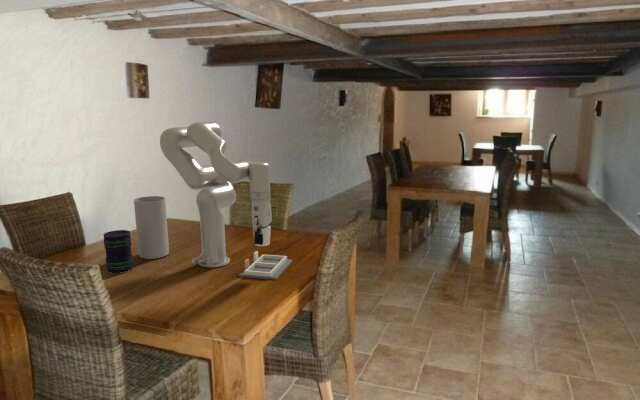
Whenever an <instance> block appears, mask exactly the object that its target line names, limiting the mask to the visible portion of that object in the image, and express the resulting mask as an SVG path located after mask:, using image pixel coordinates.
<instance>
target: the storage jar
mask: <svg viewBox="0 0 640 400" xmlns="http://www.w3.org/2000/svg"><path fill="white" fill-rule="evenodd" d="M102 237H103V245H104V246H103V247H104V250H105V256H106V257H105V265H106V272H107V271H108V272H111V273H120V272H125V271H128V270H131V269H132V268H133V269H134V266H133V265H134V258H133V254H132V247H131V246H132V238H131V230H130V231H129V230H126V229H119V230H118V229H117V230H111V231H107V232H105V233H103V236H102ZM133 269H132V270H133ZM132 270H131V271H132ZM108 272H107V273H108ZM111 273H110V274H111ZM120 274H121V273H120Z"/></svg>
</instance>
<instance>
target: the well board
mask: <svg viewBox="0 0 640 400" xmlns="http://www.w3.org/2000/svg"><path fill="white" fill-rule="evenodd" d="M243 262H244V265H243V266H244V269H243V270H242V271H241V272H240V273H238V277H242V278H249V279H250V278H251V279H263V280H264V279H265V280H275V281H276V280H278V279H279V278H280V276H281V275H282V274H283V273H284V272H285V271H286V269H288V268H289V267H290V265H291V264H292V263H293V259H289V258H288V256H287V255H276V254H261V255H260V256H259V251H258V250H257V251H256V250H255V251H254V252H253V261H252V262H251V263H250V258H246V259H245V260H243Z"/></svg>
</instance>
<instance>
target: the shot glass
mask: <svg viewBox="0 0 640 400" xmlns="http://www.w3.org/2000/svg"><path fill="white" fill-rule="evenodd" d="M257 226H261V225H259V224H258V225H257ZM271 227H272V226H271V225H270V224H269V225H267V226H265V227H262V234H263V244H262V245H260V244H255V243H254V245H255V246H256V247H266V246H269V245H270V243H271V242H270V241H271V229H272V228H271ZM258 229H259V230H260V228H258ZM252 232H253V235H254V231H253V230H252ZM253 241H254V242H255V240H254V239H253Z"/></svg>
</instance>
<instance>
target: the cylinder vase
mask: <svg viewBox="0 0 640 400" xmlns="http://www.w3.org/2000/svg"><path fill="white" fill-rule="evenodd" d="M133 204H134V205H133V207H134V216H135V218H134V219H135V227H136V230H135V231H136V238H137V239H136V240H137V241H136V242H137V250H138V256H139V258H140V257H141V259H143V258H144V259H143V260H157V259H156V258H158V259H162V258H165V257H166V255H167V256H168V255H169V253H170V248H169V247H170V246H169V234H168V221H167V220H168V217H167V206H166V197H165V196H159V195H158V196H157V195H149V196H141V197H136V198H135V199H133ZM164 256H165V257H164ZM161 257H162V258H161Z"/></svg>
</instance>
